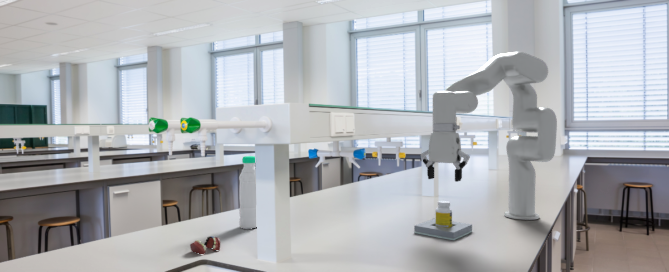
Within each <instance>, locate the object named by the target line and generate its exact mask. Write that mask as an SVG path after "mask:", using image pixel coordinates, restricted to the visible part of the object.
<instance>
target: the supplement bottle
mask: <svg viewBox="0 0 669 272" xmlns="http://www.w3.org/2000/svg"><path fill="white" fill-rule="evenodd" d="M450 207H451V201H448V200H437V207H436V208H435V219H436V220H435V226H437V227H443V228H450V227H452V221H453V210H452V208H450Z"/></svg>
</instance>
